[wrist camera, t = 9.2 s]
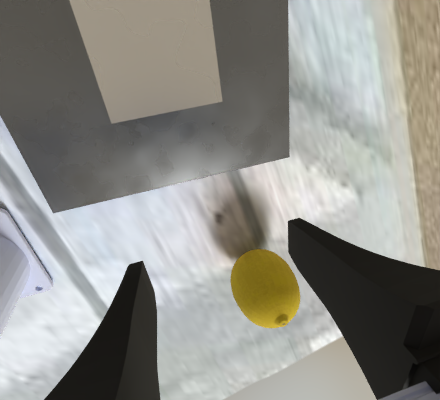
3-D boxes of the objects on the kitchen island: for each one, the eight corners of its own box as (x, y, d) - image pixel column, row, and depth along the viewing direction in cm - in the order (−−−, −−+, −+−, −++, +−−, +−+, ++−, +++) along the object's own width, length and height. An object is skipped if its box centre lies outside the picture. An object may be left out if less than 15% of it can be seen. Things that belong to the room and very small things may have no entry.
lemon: (213, 274, 27) (237, 348, 21) (233, 228, 25) (268, 294, 19) (261, 279, 29) (297, 348, 23) (283, 237, 27) (330, 299, 21)
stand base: (56, 206, 20) (34, 249, 16) (-141, -170, 11) (-322, -310, 7) (283, 152, 23) (317, 177, 18) (276, -188, 14) (340, -297, 9)
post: (124, 87, 14) (109, 126, 7) (102, 14, 12) (57, -26, 6) (184, 77, 14) (225, 103, 8) (171, 4, 13) (206, -44, 6)
